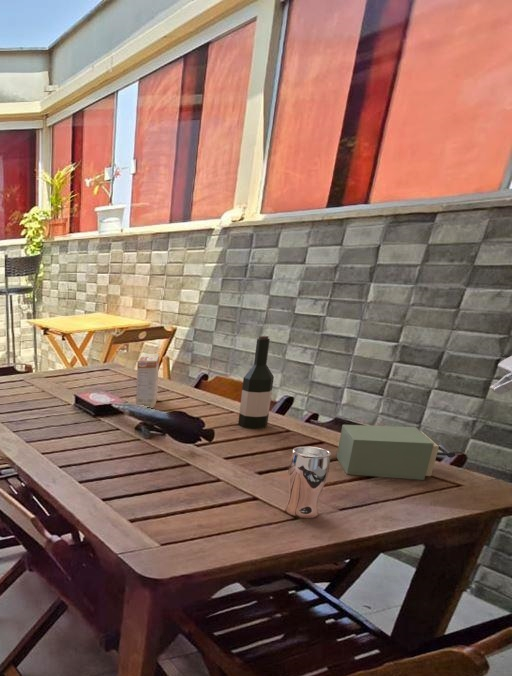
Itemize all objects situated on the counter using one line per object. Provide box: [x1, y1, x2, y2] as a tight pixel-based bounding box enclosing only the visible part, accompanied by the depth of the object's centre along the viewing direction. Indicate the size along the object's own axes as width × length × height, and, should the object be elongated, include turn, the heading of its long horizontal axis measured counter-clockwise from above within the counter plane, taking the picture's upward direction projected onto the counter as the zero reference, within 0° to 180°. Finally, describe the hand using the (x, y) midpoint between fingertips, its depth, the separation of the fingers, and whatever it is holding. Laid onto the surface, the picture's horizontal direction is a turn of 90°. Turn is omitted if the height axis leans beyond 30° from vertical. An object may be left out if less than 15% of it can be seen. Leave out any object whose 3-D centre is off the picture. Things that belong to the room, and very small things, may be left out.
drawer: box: [419, 430, 456, 477], centre depth 125 cm, size 18×11×8 cm, turn 61°
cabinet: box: [335, 424, 434, 481], centre depth 127 cm, size 15×13×10 cm
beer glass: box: [284, 445, 332, 519], centre depth 110 cm, size 7×7×15 cm
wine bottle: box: [237, 335, 275, 430], centre depth 162 cm, size 8×8×30 cm
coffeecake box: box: [135, 353, 160, 408], centre depth 200 cm, size 15×7×20 cm, turn 150°
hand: (494, 391), depth 115 cm, fingers closed
